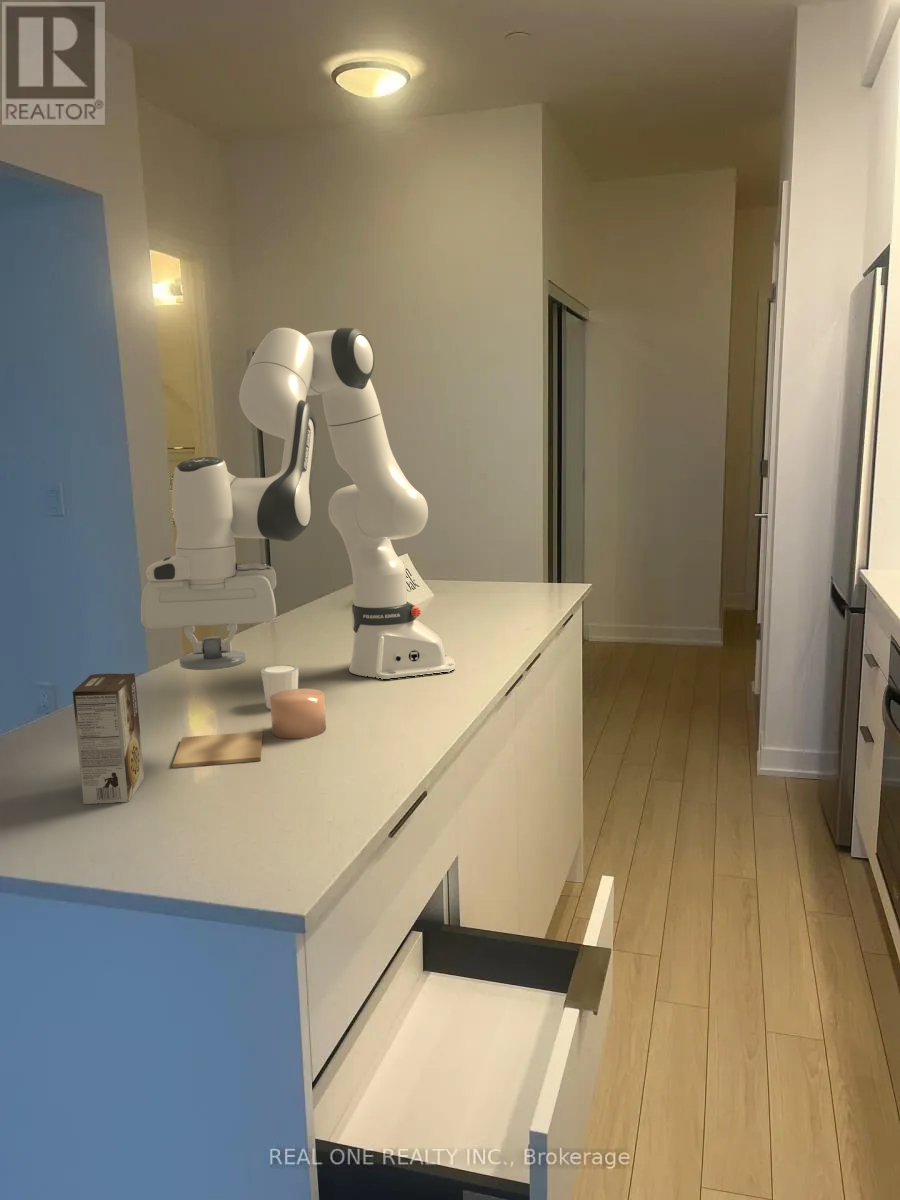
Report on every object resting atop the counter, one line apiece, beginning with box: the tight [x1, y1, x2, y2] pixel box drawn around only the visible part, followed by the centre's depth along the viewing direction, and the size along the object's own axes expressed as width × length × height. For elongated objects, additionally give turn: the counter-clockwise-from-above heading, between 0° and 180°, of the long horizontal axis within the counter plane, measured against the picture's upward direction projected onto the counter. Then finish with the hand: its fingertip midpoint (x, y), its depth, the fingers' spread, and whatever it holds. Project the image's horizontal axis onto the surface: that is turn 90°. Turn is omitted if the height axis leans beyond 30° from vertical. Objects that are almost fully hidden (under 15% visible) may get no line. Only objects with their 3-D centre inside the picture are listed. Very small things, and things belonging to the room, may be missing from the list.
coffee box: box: [71, 672, 145, 805], centre depth 129 cm, size 9×6×16 cm
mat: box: [172, 730, 264, 768], centre depth 147 cm, size 13×13×1 cm
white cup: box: [260, 664, 299, 710], centre depth 170 cm, size 7×7×7 cm
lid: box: [179, 635, 247, 671], centre depth 144 cm, size 10×10×4 cm
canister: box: [270, 688, 327, 740], centre depth 155 cm, size 9×9×6 cm
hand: (212, 652), depth 144 cm, fingers closed on lid, 3 cm apart
